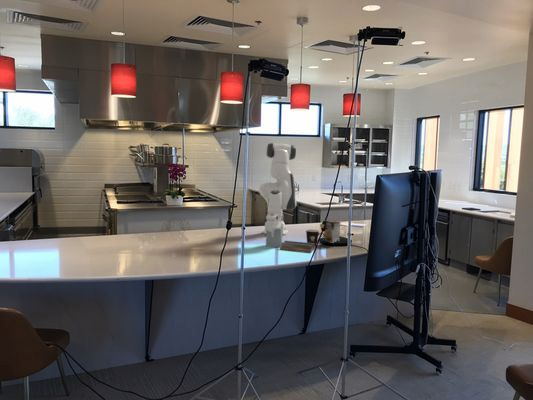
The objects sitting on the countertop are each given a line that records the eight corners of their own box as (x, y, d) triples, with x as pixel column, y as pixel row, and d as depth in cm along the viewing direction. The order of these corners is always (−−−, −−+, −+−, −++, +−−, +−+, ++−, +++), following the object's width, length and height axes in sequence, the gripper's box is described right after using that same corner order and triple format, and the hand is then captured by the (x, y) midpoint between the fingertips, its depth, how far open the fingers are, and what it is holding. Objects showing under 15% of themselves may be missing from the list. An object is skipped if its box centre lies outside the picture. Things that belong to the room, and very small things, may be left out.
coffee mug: (303, 245, 307) (304, 230, 306) (308, 243, 314) (309, 229, 313) (319, 247, 301) (320, 232, 300) (324, 245, 309) (325, 230, 308)
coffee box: (323, 243, 315) (324, 220, 313) (329, 242, 319) (330, 219, 317) (332, 246, 307) (333, 222, 306) (339, 245, 311) (340, 221, 310)
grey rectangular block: (267, 244, 305) (267, 227, 304) (281, 246, 302) (282, 228, 301) (265, 245, 302) (266, 227, 301) (280, 247, 299) (280, 229, 298)
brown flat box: (286, 245, 305) (286, 239, 304) (315, 248, 298) (315, 242, 298) (279, 249, 292) (280, 243, 291) (310, 252, 285) (310, 246, 285)
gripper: (275, 213, 311) (274, 233, 312) (265, 217, 292) (264, 238, 293) (283, 213, 309) (283, 233, 310) (274, 217, 290) (274, 239, 291)
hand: (274, 236), depth 302 cm, fingers closed on grey rectangular block, 3 cm apart
